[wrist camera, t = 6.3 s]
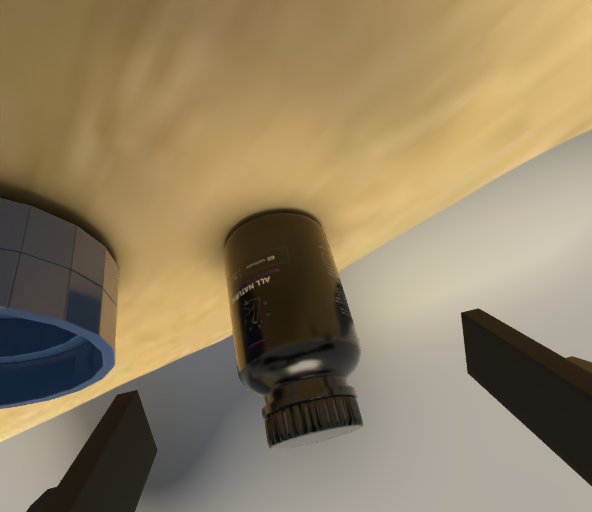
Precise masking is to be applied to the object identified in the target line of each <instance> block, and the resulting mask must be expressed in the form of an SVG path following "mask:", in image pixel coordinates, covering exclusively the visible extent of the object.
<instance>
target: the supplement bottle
mask: <svg viewBox="0 0 592 512" xmlns="http://www.w3.org/2000/svg"><path fill="white" fill-rule="evenodd" d="M224 261H225V271H226V280H227V288H228V296H229V304H230V312H231V321H232V329H233V336H234V345H235V354H236V362H237V368H238V374H239V378H240V380H241V382H242V383H243V385H244V386H245V387H246V389H247V390H249V391H250V392H251V393H253V394H255V395H258V396H260V397H262V398H265V402H266V406H265V407H264V408H263V409H262V416H263V420H264V421H265V428H266V434H267V441H268V445H269V448H271V449H286V448H293V447H298V446H303V445H308V444H313V443H317V442H321V441H325V440H328V439H332V438H336V437H339V436H342V435H345V434H348V433H351V432H353V431H356V430H357V429H360V428H361V427H362V426H363V421H362V418H361V414H360V411H359V407H358V403H357V394H356V391H355V388H353V387H350V386H349V385H348V382H347V379H348V378H349V377H350V375H351V374H352V373H353V372H354V371H355V369H356V368H357V366H358V364H359V361H360V357H361V347H360V343H359V339H358V336H357V333H356V329H355V326H354V323H353V320H352V317H351V313H350V310H349V307H348V304H347V300H346V297H345V294H344V291H343V287H342V284H341V281H340V278H339V275H338V271H337V268H336V265H335V262H334V259H333V255H332V252H331V249H330V246H329V243H328V240H327V237H326V234H325V232H324V230H323V228H322V227H321V226H320V225H319V224H318V223H317V222H316V221H315V220H313V219H311V218H309V217H307V216H304V215H301V214H297V213H288V212H281V213H272V214H267V215H263V216H260V217H257V218H254V219H252V220H250V221H248V222H246V223H244V224H243V225H241V226H240V227H239V228H237V229H236V230H235V231H234V232H233V233H232V235H231V236H230V237H229V239H228V240H227V243H226V245H225V249H224Z"/></svg>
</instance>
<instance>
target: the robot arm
mask: <svg viewBox="0 0 592 512" xmlns="http://www.w3.org/2000/svg"><path fill="white" fill-rule="evenodd" d="M461 318H462V325H463V335H464V344H465V353H466V362H467V371H468V374H469V375H471V376H472V377H473V378H474V379H475V380H476V381H477V382H478V383H479V384H480V385H481V386H482V387H484V388H485V389H486V390H487V391H488V392H489V393H490V394H491V395H492V396H493V397H494V398H496V399H497V400H498V401H499V402H500V403H501V404H502V405H503V406H504V407H505V408H507V409H508V410H509V411H510V412H511V413H512V414H513V415H514V416H515V417H516V418H518V419H519V420H520V421H521V422H522V423H523V424H524V425H525V426H526V427H527V428H529V429H530V430H531V431H532V432H533V433H534V434H535V435H536V436H537V437H538V438H539V439H541V440H542V441H543V442H544V443H545V444H546V445H547V446H548V447H549V448H550V449H551V450H552V451H554V452H555V453H556V454H557V455H558V456H559V457H560V458H561V459H562V460H563V461H565V462H566V463H567V464H568V465H569V466H570V467H571V468H572V469H573V470H575V472H577V473H578V474H579V475H580V476H581V477H582V478H583V479H584V480H585V481H586V482H588V483H589V484H590V485H591V486H592V362H588V361H585V360H582V359H579V358H576V357H568V358H564V357H562V356H560V355H559V354H557V353H555V352H553V351H552V350H550V349H548V348H547V347H545V346H543V345H541V344H540V343H538V342H536V341H534V340H533V339H531V338H529V337H527V336H526V335H524V334H522V333H520V332H519V331H517V330H515V329H513V328H512V327H510V326H508V325H507V324H505V323H503V322H501V321H500V320H498V319H496V318H494V317H493V316H491V315H489V314H488V313H486V312H484V311H482V310H480V309H475V310H470V311H466V312H462V313H461ZM156 453H157V448H156V445H155V442H154V439H153V436H152V433H151V430H150V427H149V424H148V421H147V418H146V415H145V412H144V409H143V406H142V403H141V400H140V397H139V394H138V391H137V390H135V391H131V392H127V393H123V394H118V395H117V396H116V397H115V399H114V401H113V402H112V404H111V405H110V407H109V408H108V410H107V411H106V413H105V414H104V416H103V417H102V419H101V421H100V422H99V424H98V425H97V427H96V428H95V430H94V431H93V433H92V434H91V436H90V438H89V439H88V441H87V442H86V444H85V445H84V447H83V448H82V450H81V451H80V453H79V454H78V456H77V457H76V459H75V460H74V462H73V463H72V465H71V466H70V468H69V469H68V471H67V473H66V474H65V476H64V477H63V479H62V480H61V482H60V483H59V485H58V486H57V487H55V488H51V489H48V490H47V491H45V492H44V493H43V494H42V495H41V496H40V497H39V498H38V499H37V500H36V501H35V502H34V503H33V504H32V505H31V506H30V507H29V509H28V510H27V512H135V510H136V507H137V504H138V501H139V499H140V496H141V493H142V491H143V488H144V485H145V483H146V480H147V477H148V474H149V472H150V469H151V466H152V464H153V461H154V458H155V455H156Z"/></svg>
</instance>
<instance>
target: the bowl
mask: <svg viewBox="0 0 592 512" xmlns="http://www.w3.org/2000/svg"><path fill="white" fill-rule="evenodd" d="M118 294H119V268H118V266H117V264H116V263H115V261H114V260H113V258H112V256H111V255H110V253H109V252H108V250H107V249H106V247H105V246H104V245H103V244H101V243H100V242H98V241H97V240H96V239H94V238H93V237H92V236H90V235H89V234H88V233H86V232H85V231H84V230H82V229H81V228H80V227H78V226H76V225H75V224H72V223H70V222H68V221H66V220H63V219H61V218H59V217H56V216H54V215H52V214H49V213H47V212H45V211H42V210H40V209H38V208H36V207H33V206H30V205H27V204H23V203H19V202H15V201H12V200H8V199H4V198H0V409H2V408H11V407H17V406H22V405H27V404H32V403H37V402H42V401H47V400H52V399H55V398H58V397H61V396H64V395H67V394H71V393H74V392H77V391H80V390H82V389H84V388H86V387H88V386H90V385H92V384H94V383H96V382H98V381H99V380H101V379H103V378H104V377H105V376H106V375H107V374H108V372H109V371H110V370H111V369H112V368H113V367H114V366H115V357H116V336H117V315H118Z"/></svg>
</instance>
